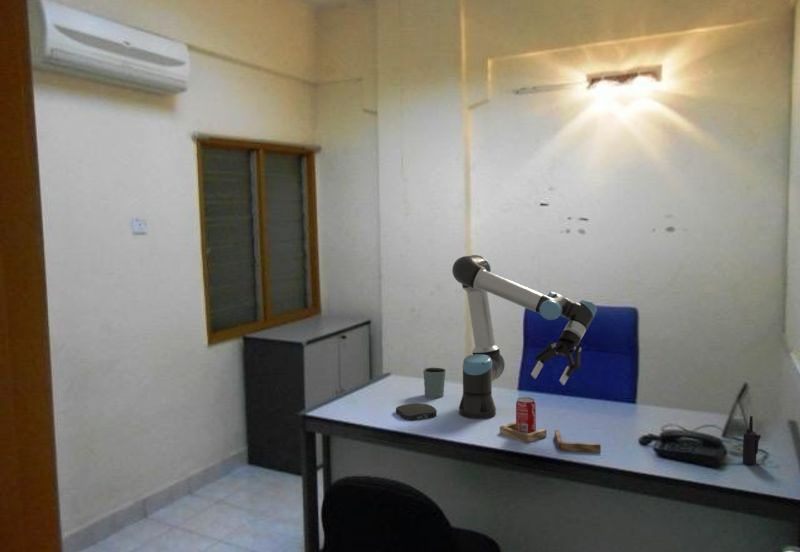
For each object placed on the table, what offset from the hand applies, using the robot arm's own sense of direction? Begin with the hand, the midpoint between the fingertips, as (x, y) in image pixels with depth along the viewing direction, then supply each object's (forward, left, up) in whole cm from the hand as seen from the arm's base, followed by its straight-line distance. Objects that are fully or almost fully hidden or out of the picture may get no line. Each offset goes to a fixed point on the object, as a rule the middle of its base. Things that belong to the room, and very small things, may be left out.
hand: (547, 379), depth 227 cm
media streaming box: (-52, -7, -19) cm, 56 cm away
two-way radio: (+67, -4, -19) cm, 70 cm away
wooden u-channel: (-6, -11, -19) cm, 23 cm away
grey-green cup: (-57, +21, -19) cm, 64 cm away
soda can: (-5, -10, -19) cm, 22 cm away
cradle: (+12, -16, -19) cm, 27 cm away
